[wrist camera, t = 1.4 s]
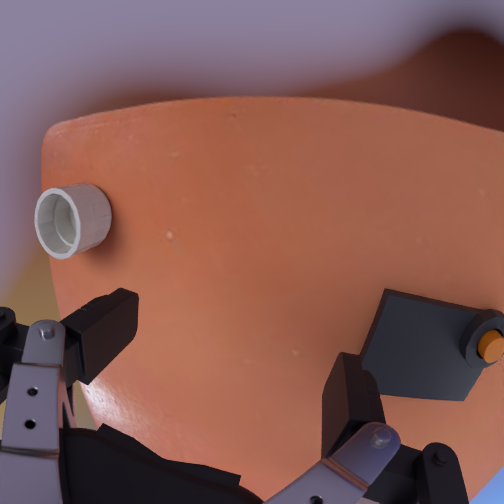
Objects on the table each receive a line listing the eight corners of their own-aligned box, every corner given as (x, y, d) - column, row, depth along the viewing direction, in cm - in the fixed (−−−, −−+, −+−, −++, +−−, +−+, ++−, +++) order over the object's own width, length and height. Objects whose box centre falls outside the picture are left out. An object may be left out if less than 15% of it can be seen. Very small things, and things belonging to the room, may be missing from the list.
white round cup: (70, 179, 26) (35, 184, 22) (116, 186, 26) (81, 192, 21) (67, 238, 28) (35, 250, 24) (112, 251, 28) (80, 267, 23)
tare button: (485, 328, 20) (492, 336, 19) (503, 331, 20) (510, 339, 19) (472, 353, 21) (479, 362, 20) (491, 355, 21) (497, 364, 19)
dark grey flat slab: (387, 279, 24) (396, 293, 21) (506, 307, 22) (520, 320, 19) (347, 380, 27) (350, 401, 24) (461, 393, 25) (470, 410, 22)
